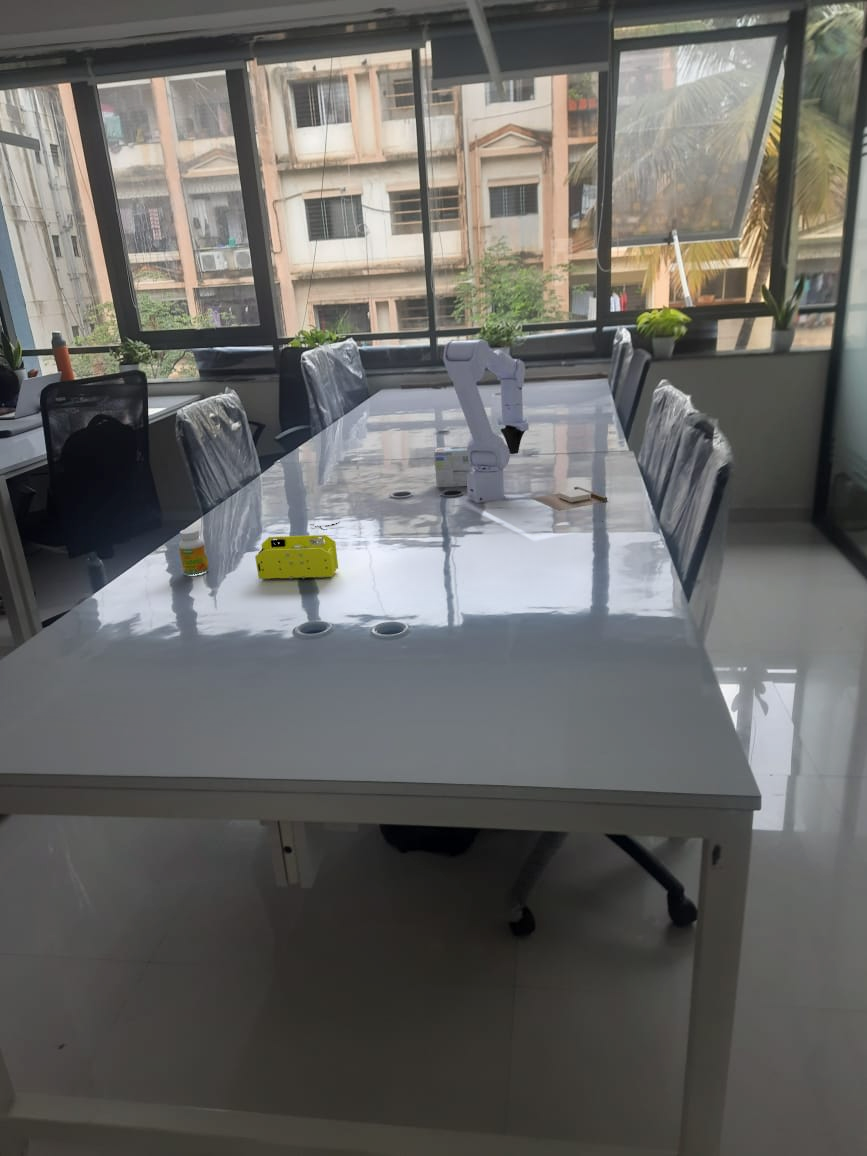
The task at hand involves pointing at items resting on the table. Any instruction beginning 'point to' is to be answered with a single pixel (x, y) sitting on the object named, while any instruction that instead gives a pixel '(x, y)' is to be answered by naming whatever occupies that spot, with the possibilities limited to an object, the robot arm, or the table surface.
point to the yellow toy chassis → (297, 557)
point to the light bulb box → (452, 466)
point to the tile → (574, 495)
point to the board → (563, 504)
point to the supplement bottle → (193, 552)
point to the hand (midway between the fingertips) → (513, 453)
